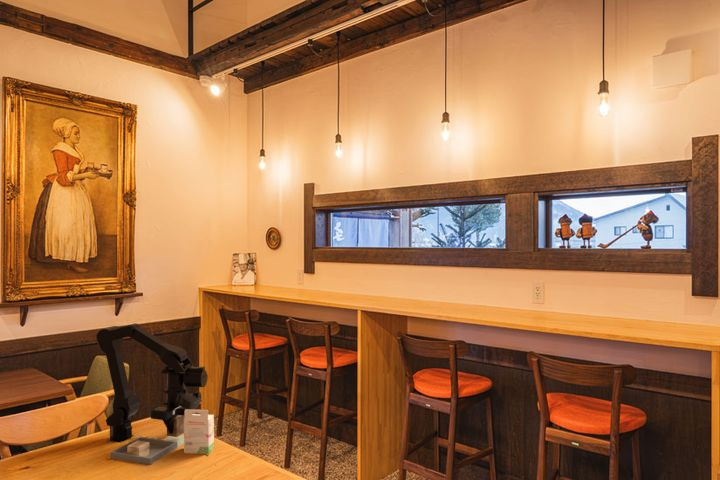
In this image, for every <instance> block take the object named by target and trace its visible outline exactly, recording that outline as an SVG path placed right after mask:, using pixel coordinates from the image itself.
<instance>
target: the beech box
mask: <svg viewBox="0 0 720 480" xmlns="http://www.w3.org/2000/svg"><path fill="white" fill-rule="evenodd" d="M127 454H132V455H138V456H144V457H146V456H148V455H149V442H145V441H136V442H134V443H132V444H130V445H128V446H127Z"/></svg>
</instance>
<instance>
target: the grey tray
mask: <svg viewBox="0 0 720 480" xmlns="http://www.w3.org/2000/svg"><path fill="white" fill-rule="evenodd" d="M136 441H145V442H149V455H148V456H146V457H144V456H138V455H132V454H127V446H128V445H130V444H132V443H134V442H136ZM177 448H178V447H177V442H175V441H168V440H163V439H160V438H152V437H146V436H137V437H136V438H135V439H133V440H131V441H129V442H127V443H124V445H122V446H120V447H118V448H116V449H114V450H112V451H110V459H112V460H116V461H124V462H131V463H135V464H142V465H149V466H151V465H152V464H154V463H156V462H157V461H159V460H161V459H162V458H164V457H165V456H167V455H168V454H170V453H171V452H173V451H174V450H176V449H177Z"/></svg>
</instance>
